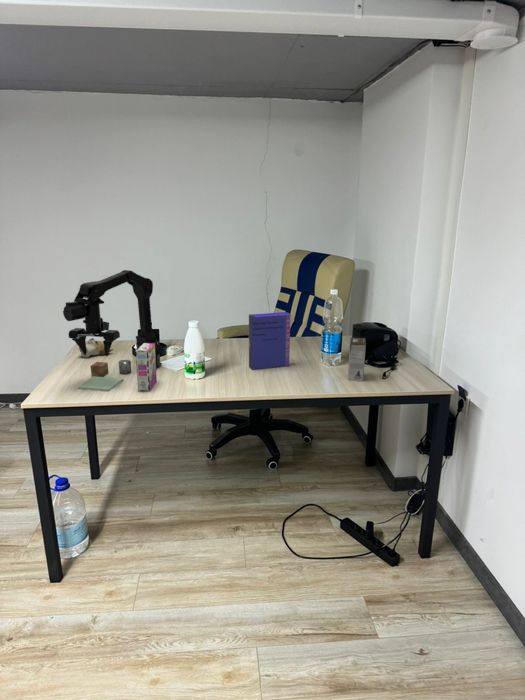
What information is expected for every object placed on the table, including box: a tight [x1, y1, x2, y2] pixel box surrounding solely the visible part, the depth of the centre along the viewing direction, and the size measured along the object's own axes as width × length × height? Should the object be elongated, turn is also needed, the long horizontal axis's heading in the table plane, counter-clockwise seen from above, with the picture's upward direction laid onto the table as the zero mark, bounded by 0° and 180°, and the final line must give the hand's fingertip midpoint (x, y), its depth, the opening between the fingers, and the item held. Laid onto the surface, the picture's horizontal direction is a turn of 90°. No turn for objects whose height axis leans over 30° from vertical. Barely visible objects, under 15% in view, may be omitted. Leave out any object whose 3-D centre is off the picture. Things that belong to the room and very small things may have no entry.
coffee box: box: [347, 337, 367, 382], centre depth 195 cm, size 9×6×16 cm
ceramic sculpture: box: [78, 338, 114, 359], centre depth 224 cm, size 11×9×15 cm
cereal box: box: [248, 311, 291, 371], centre depth 207 cm, size 17×5×24 cm, turn 108°
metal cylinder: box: [118, 359, 133, 376], centre depth 201 cm, size 5×5×5 cm
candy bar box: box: [135, 343, 158, 392], centre depth 184 cm, size 11×5×16 cm, turn 178°
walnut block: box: [90, 361, 110, 378], centre depth 198 cm, size 5×5×5 cm
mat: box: [77, 376, 124, 392], centre depth 188 cm, size 13×12×1 cm
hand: (96, 355), depth 184 cm, fingers open, 9 cm apart
